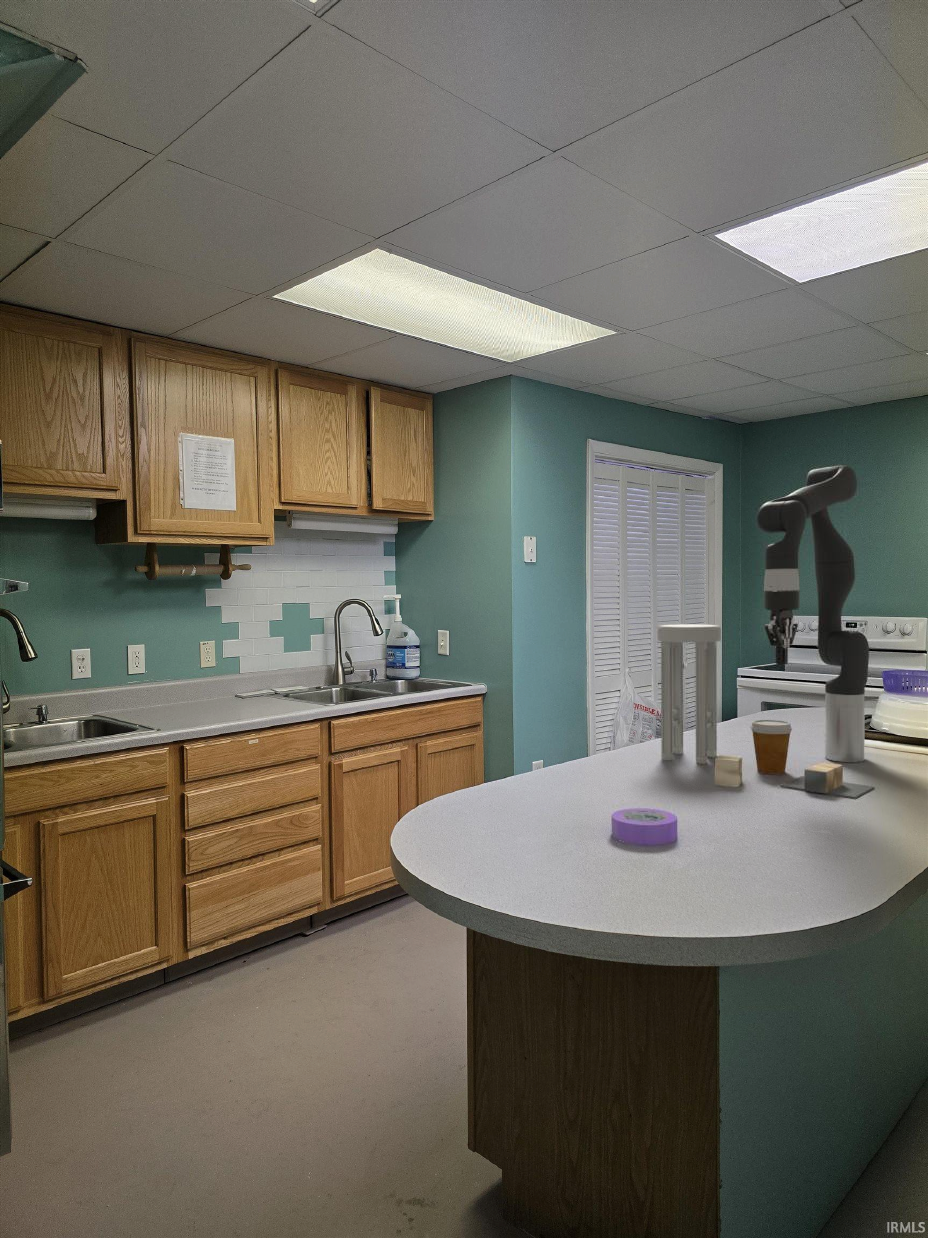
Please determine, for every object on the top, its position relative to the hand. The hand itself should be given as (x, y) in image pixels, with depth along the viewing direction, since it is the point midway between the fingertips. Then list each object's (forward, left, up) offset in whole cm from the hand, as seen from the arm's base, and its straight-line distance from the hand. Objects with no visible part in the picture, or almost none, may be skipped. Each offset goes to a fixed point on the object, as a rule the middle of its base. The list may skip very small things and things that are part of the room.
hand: (781, 664), depth 187 cm
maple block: (+10, -8, -27) cm, 30 cm away
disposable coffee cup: (-8, -6, -27) cm, 29 cm away
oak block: (+6, +10, -24) cm, 27 cm away
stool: (-10, -29, -27) cm, 41 cm away
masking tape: (+57, -1, -28) cm, 63 cm away
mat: (0, +10, -27) cm, 29 cm away
